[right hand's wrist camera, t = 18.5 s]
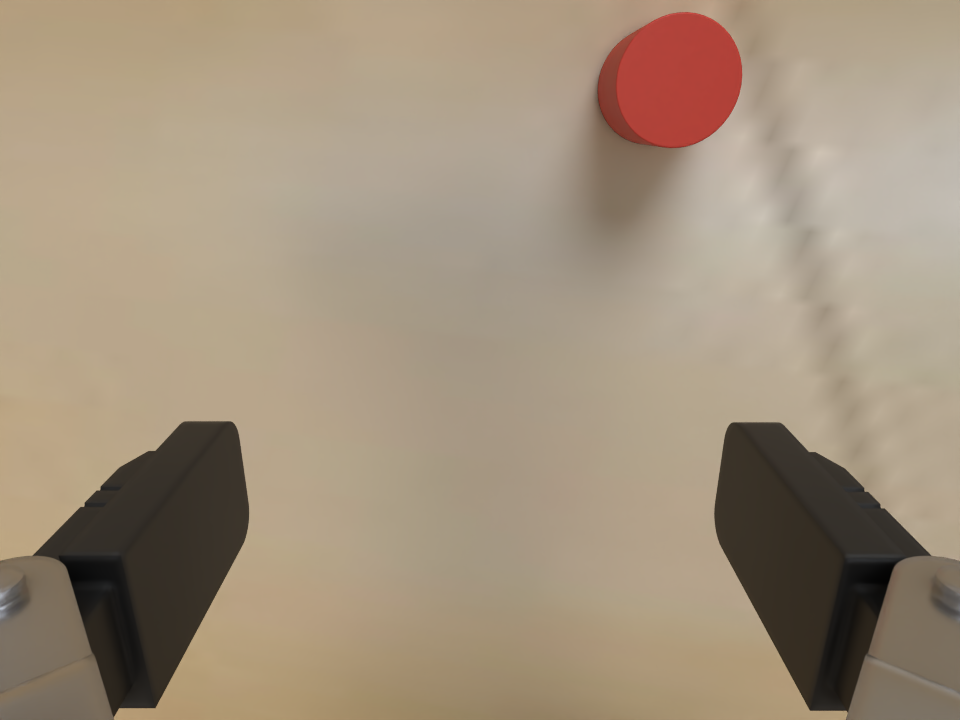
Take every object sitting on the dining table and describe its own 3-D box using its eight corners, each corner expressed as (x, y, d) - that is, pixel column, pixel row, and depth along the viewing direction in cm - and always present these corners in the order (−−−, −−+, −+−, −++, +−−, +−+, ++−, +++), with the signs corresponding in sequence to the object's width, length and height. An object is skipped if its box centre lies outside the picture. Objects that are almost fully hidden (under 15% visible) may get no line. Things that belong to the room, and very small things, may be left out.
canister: (578, 116, 28) (593, 115, 24) (630, 7, 26) (654, -12, 23) (672, 162, 28) (701, 168, 24) (727, 57, 27) (767, 47, 23)
